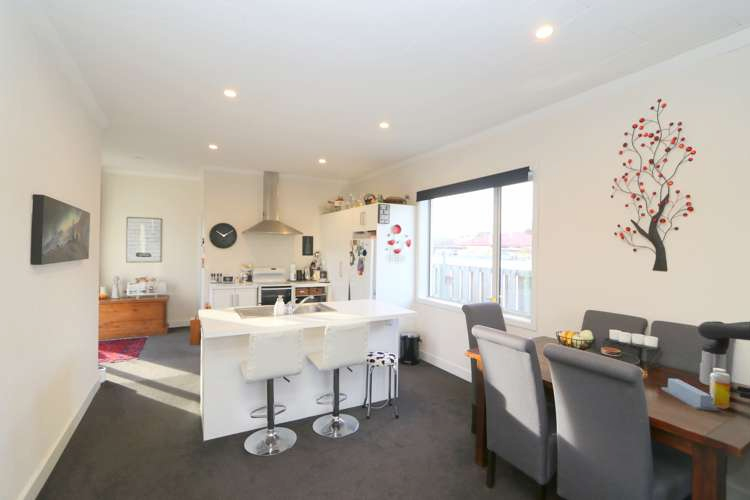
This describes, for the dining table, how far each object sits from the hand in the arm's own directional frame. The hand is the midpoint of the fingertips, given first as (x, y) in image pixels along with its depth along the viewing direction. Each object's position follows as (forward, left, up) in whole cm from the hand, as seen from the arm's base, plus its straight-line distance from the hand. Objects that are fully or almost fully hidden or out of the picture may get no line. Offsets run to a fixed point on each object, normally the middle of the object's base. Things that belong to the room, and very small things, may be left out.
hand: (738, 391), depth 159 cm
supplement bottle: (-16, +5, -9) cm, 19 cm away
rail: (-9, -14, -8) cm, 19 cm away
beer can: (-3, -5, -9) cm, 10 cm away
